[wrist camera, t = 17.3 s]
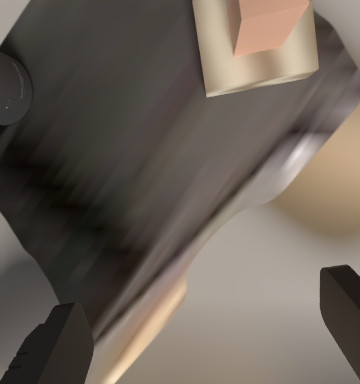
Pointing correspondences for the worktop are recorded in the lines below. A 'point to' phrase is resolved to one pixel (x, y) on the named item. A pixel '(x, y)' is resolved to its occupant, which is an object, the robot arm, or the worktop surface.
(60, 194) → the worktop surface
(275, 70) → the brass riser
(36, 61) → the worktop surface
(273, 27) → the terracotta block
